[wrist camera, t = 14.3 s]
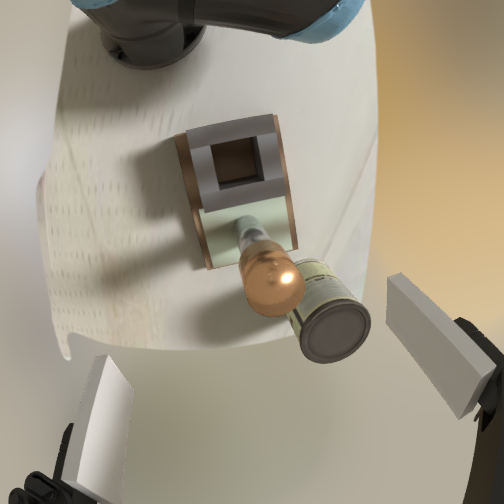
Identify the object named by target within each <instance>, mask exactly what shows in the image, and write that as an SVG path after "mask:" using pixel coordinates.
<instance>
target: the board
mask: <svg viewBox="0 0 504 504" xmlns="http://www.w3.org/2000/svg"><path fill="white" fill-rule="evenodd" d="M174 137H175V142H176V146H177V151H178V155H179V160H180V164H181V168H182V173H183V177H184V181H185V185H186V190H187V194H188V198H189V202H190V206H191V210H192V214H193V218H194V222H195V226H196V229H197V233H198V237H199V241H200V245H201V248H202V252H203V256H204V259H205V263H206V267H207V270H211V269H216V268H220V267H224V266H229V265H233V264H237V263H239V259H240V256H241V254H240V251H239V248H238V245H237V242H236V238H235V235H234V232H233V227H234V224H235V222H236V221H237V220H238V219H239V218H240V217H242V216H245V215H251V216H254V217H256V218H257V219H258V220H259V221H260V223H261V224H262V226H263V228H264V229H265V231H266V232H267V234H268V235H269V237H270V239H271V240H272V241H274V242H276V243H278V244H280V245H281V246H282V247H283V248H284V250H285V251H286V252H288V251H292V250H296V249H298V241H297V234H296V227H295V220H294V213H293V206H292V199H291V193H290V187H289V180H288V174H287V168H286V162H285V156H284V150H283V144H282V139H281V133H280V127H279V122H278V117H277V115H273V114H267V115H261V116H254V117H249V118H243V119H237V120H232V121H227V122H222V123H217V124H212V125H208V126H203V127H199V128H195V129H190V130H186V133H182V134H178V135H174Z"/></svg>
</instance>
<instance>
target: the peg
mask: <svg viewBox="0 0 504 504" xmlns="http://www.w3.org/2000/svg"><path fill="white" fill-rule="evenodd" d="M233 232H234V235H235V238H236V242H237V245H238V248H239V251H240V254H241V256H240V259H239V271H240V274H241V278H242V282H243V285H244V289H245V292H246V296H247V300H248V303H249V305H250V306H251V308H252V309H253V310H254V311H256V312H257V313H259V314H261V315H263V316H268V317H277V316H282V315H285V314H287V313H289V312H291V311H292V310H293V309H295V308H296V307H297V306H298V305H299V303H300V302H301V301H302V299H303V297H304V294H305V281H304V278H303V276H302V274H301V273H300V272H299V270H298V269H297V267H296V266H295V264H294V263H293V261H292V260H291V258H290V257H289V255H288V254H287V253H286V251H285V250H284V248H283V247H282V246H281V245H280V244H278V243H276V242H274V241H272V240H271V239H270V237H269V235H268V234H267V232H266V231H265V229H264V228H263V226H262V224H261V223H260V221H259V220H258V219H257V218H256V217H254V216H251V215H245V216H242V217H240V218H239V219H238V220H237V221H236V222H235V224H234V227H233Z"/></svg>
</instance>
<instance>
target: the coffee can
mask: <svg viewBox="0 0 504 504" xmlns="http://www.w3.org/2000/svg"><path fill="white" fill-rule="evenodd" d="M294 264H295V266H296V267H297V269H298V270H299V272H300V273H301V274H302V276H303V278H304V281H305V294H304V297H303V299H302V301H301V302H300V303H299V305H298V306H297V307H296V308H295V309H293V310H292V311H291V312H289V313H287V314H286V315H287V317H288V319H289V321H290V323H291V326H292V328H293V330H294V332H295V334H296V337H297V339H298V341H299V343H300V347H301V350H302V352H303V354H304V356H305V357H306V358H308V359H309V360H311V361H313V362H315V363H321V364H327V363H333V362H337V361H340V360H342V359H344V358H346V357H348V356H350V355H351V354H353V353H354V352H355V351H356V350H357V349H358V348H359V347H360V346H361V345H362V344H363V343H364V341H365V340H366V338H367V336H368V334H369V331H370V328H371V317H370V314H369V312H368V310H367V309H366V308H365V307H364V306H363V305H362V304H361V303H360V302H359V301H358V300H357V299H356V298H355V297H354V296H353V294H352V293H351V292H350V291H349V290H348V289H347V288H346V286H345V285H344V284H343V283H342V282H341V281H340V280H339V279H338V278H337V276H336V275H335V274H334V273H333V272H332V271H331V270H330V268H329V267H328V266H327V265H326V264H325V263H323V262H321V261H319V260H314V259H306V260H301V261H299V262H296V263H294Z"/></svg>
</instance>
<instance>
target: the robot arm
mask: <svg viewBox="0 0 504 504" xmlns="http://www.w3.org/2000/svg"><path fill="white" fill-rule="evenodd" d="M364 1H365V0H71V2H72V4H73V5H74V6H76V7H78V8H79V9H80V10H82V11H83V12H84V13H85V14H86V15H87V16H88V17H89V18H91V19H92V20H93V21H94V22H95V23H96V24H97V25H98V26H99V27H100V28H101V39H102V43H103V45H104V47H105V49H106V51H107V52H108V53H109V54H110V55H111V56H112V57H113V58H114V59H115V60H116V61H118V62H119V63H121V64H123V65H125V66H127V67H130V68H134V69H142V70H147V69H156V68H161V67H164V66H167V65H170V64H172V63H175V62H177V61H178V60H180V59H182V58H183V57H185V56H186V55H187V54H189V53H190V52H191V51H192V50H193V49H194V48H195V47H196V46H197V44H198V43H199V42H200V40H201V38H202V37H203V35H204V32H205V29H206V25H211V26H219V27H227V28H234V29H240V30H246V31H252V32H257V33H262V34H267V35H271V36H272V37H274V38H276V39H284V40H286V39H290V40H295V41H299V42H303V43H308V44H313V43H322V42H325V41H328V40H330V39H332V38H333V37H335V36H336V35H338V34H339V33H340V32H341V31H343V30H344V29H345V28H346V27H347V26H348V25H349V24H350V22H351V21H352V20H353V19H354V17H355V16H356V15H357V13H358V12H359V10H360V9H361V7H362V5H363V3H364ZM386 324H387V325H388V326H389V328H390V329H391V330H392V331H393V333H394V334H395V335H396V336H397V338H398V339H399V340H400V341H401V342H402V344H403V345H404V347H405V348H406V349H407V350H408V352H409V353H410V354H411V355H412V357H413V358H414V359H415V361H416V362H417V363H418V365H419V366H420V367H421V368H422V370H423V371H424V373H425V374H426V375H427V377H428V378H429V379H430V381H431V382H432V383H433V385H434V386H435V387H436V389H437V390H438V391H439V393H440V394H441V396H442V397H443V398H444V400H445V401H446V402H447V404H448V405H449V407H450V408H451V410H452V411H453V412H454V414H455V415H456V417H457V418H458V419H461V418H462V417H464V416H465V415H467V414H468V413H470V412H471V411H473V409H474V407H475V406H476V404H477V402H478V403H479V404H480V405H481V408H480V410H479V411H478V413H477V414H476V416H475V418H474V421H476V420H477V419H478V417H479V423H478V431H477V438H476V445H475V451H474V457H473V462H472V467H471V472H470V477H469V481H468V485H467V489H466V493H465V497H464V500H463V504H504V355H503V354H502V353H501V352H500V351H499V350H498V348H497V347H495V345H493V344H492V342H490V340H488V339H487V337H484V334H482V333H481V332H480V331H478V329H477V328H476V327H475V326H474V325H473V324H472V323H471V322H469V321H467V320H465V319H463V318H461V317H459V318H457V319H455V320H454V321H453V320H452V319H451V318H450V317H449V316H448V315H447V314H446V313H445V312H444V311H442V310H441V309H440V308H439V307H438V306H437V305H436V304H435V303H434V302H433V301H432V300H431V299H430V298H429V297H428V296H426V295H425V294H424V293H423V292H422V291H421V290H420V289H419V288H418V287H417V286H416V285H414V284H413V283H412V282H411V281H410V280H409V279H408V278H407V277H405V276H404V275H403V274H402V273H398V274H396V275H393V276H390V277H388V278H387V310H386ZM134 395H135V391H134V390H133V388H132V387H131V386H130V384H129V383H128V382H127V380H126V379H125V378H124V376H123V375H122V373H121V372H120V371H119V369H118V368H117V366H116V365H115V364H114V362H113V361H112V359H111V358H110V356H109V355H108V354H107V355H102V356H96V357H95V359H94V362H93V365H92V368H91V371H90V374H89V377H88V380H87V383H86V386H85V389H84V392H83V395H82V399H81V402H80V405H79V408H78V412H77V415H76V419H75V422H74V423H70V424H69V425H68V427H67V428H66V430H65V432H64V434H63V438H62V441H61V442H62V444H61V445H60V449H59V450H60V452H59V453H58V457H57V461H56V465H55V470H54V474H53V479H52V480H51V479H50V478H48V477H47V476H46V475H44V474H43V473H41V472H39V471H35V472H32V473H30V475H28V476H27V478H26V480H25V484H24V489H25V491H24V490H23V489H21V488H15V489H13V490H12V491H11V493H10V495H9V501H8V502H9V504H97V502H99V503H100V504H122V492H123V480H124V469H125V458H126V451H127V450H126V449H127V442H128V434H129V427H130V420H131V413H132V407H133V401H134Z"/></svg>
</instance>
